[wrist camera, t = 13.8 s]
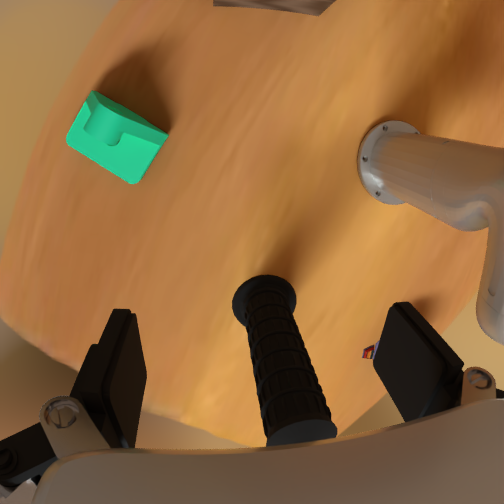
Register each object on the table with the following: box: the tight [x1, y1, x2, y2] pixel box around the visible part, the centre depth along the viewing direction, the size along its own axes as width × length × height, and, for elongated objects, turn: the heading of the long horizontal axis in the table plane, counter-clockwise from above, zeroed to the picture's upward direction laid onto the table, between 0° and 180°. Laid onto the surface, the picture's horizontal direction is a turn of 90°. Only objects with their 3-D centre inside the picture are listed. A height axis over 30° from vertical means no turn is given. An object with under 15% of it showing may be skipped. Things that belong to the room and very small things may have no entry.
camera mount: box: [66, 90, 169, 184], centre depth 33 cm, size 12×8×10 cm, turn 54°
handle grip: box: [232, 275, 337, 447], centre depth 37 cm, size 10×26×10 cm
